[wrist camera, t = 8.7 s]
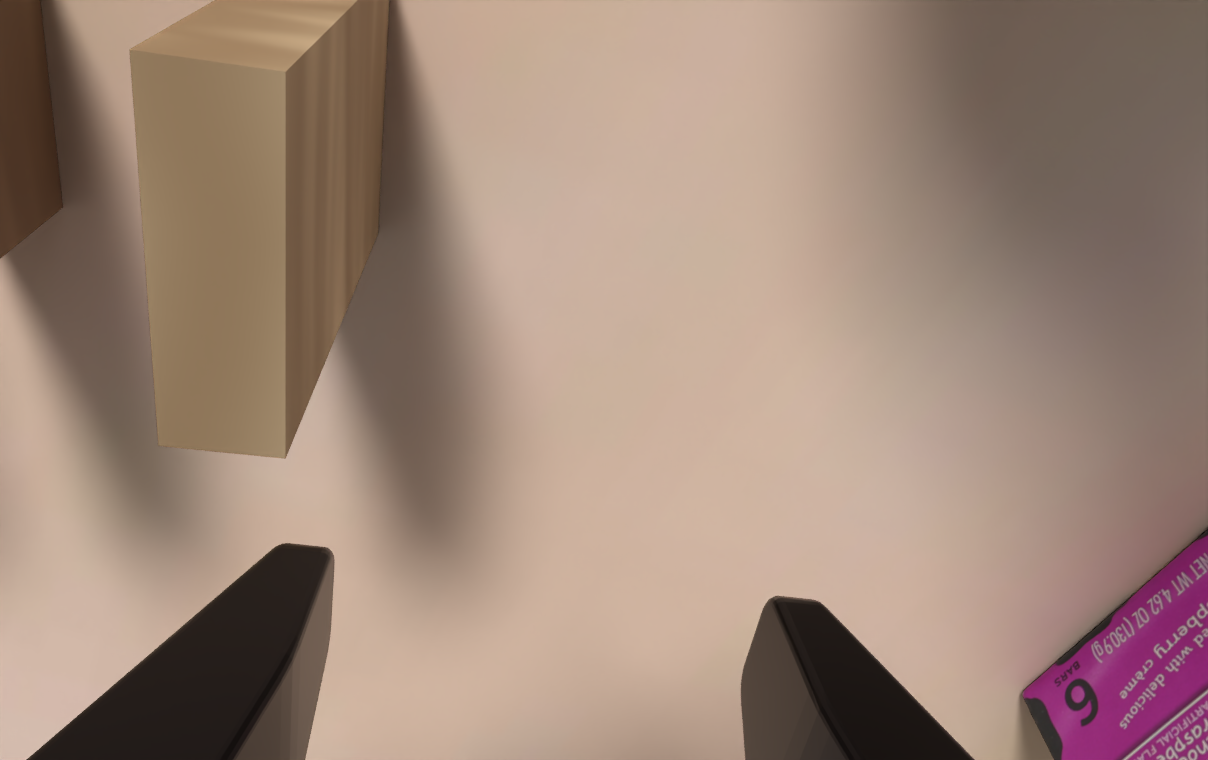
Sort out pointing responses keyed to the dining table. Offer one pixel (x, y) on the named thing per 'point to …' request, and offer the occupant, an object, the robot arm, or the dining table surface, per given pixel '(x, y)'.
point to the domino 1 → (25, 126)
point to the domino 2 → (255, 207)
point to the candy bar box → (1135, 675)
